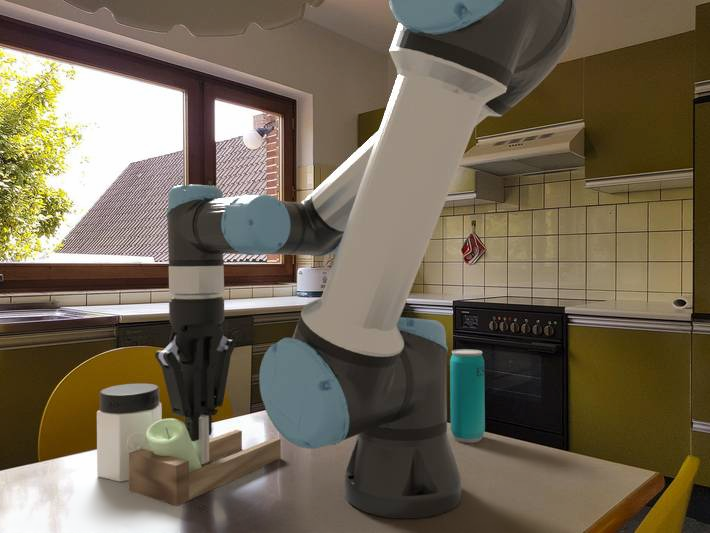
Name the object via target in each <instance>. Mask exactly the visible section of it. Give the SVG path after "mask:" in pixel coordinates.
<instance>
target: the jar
mask: <svg viewBox="0 0 710 533" xmlns="http://www.w3.org/2000/svg"><path fill="white" fill-rule="evenodd" d="M162 407H163V406H162V402H160V387H159V386H158V385H157V384H152V383H141V382H140V383H126V384H117V385H113V386H108V387H106V388H103V389H101V390H100V391H99V410H97V411H96V458H97V459H96V460H97V461H96V463H97V464H96V465H97V466H96V470H97V472H96V473H97V475H96V476H97V477H98V478H101V479H107V480H111V481H115V482H118V483H122V482H126V481H129V453H130V452H133V451H136V450H139V449H146V450H149V451H152V449H151V446H150V444H149V441H148V439H147V436H146V432H147V430H148V428H149V427H150V426H151V425H152V424H153V423H155V422H157V421H159V420H163V418H162V416H163V415H162V414H163V412H162V409H163V408H162Z"/></svg>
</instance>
